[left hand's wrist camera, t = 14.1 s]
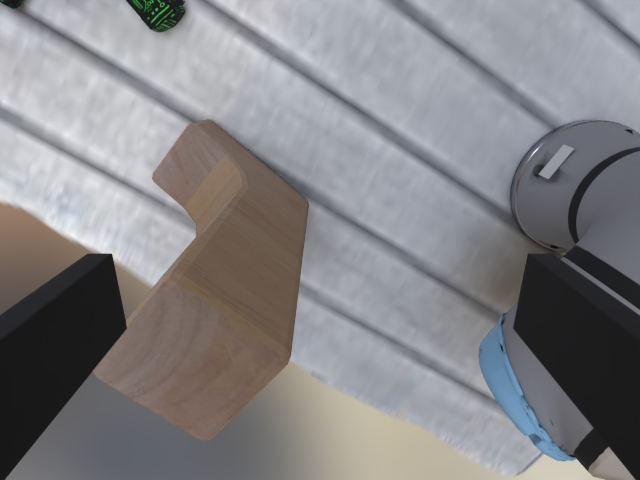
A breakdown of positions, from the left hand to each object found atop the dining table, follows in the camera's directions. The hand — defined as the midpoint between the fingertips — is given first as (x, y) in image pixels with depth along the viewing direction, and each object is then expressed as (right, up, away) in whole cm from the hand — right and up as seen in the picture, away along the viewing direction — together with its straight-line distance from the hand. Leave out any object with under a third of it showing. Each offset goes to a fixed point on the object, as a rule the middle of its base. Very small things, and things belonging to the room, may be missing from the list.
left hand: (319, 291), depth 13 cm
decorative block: (-9, +8, +34) cm, 36 cm away
